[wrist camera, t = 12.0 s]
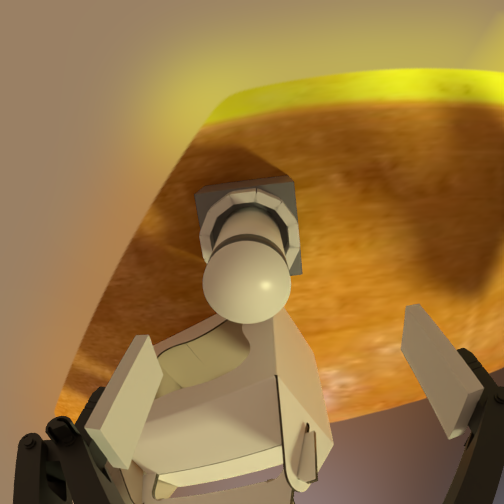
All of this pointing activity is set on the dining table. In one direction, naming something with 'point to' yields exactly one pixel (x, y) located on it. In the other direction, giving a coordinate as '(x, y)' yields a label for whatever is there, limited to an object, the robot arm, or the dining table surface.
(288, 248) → the grey socket block
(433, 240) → the dining table surface
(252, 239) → the beige rounded cylinder
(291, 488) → the gable box
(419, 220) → the dining table surface
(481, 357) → the dining table surface
